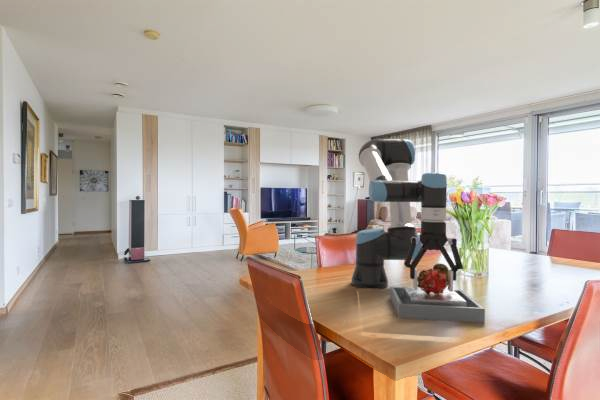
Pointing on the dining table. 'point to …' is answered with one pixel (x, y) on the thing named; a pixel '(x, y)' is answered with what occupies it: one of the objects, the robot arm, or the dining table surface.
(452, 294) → the metal tin
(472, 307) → the tray
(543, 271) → the dining table surface
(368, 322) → the dining table surface
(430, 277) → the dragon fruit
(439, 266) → the avocado
